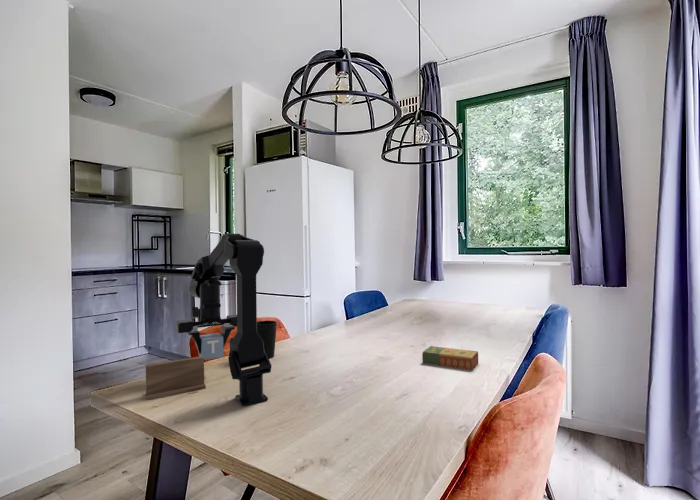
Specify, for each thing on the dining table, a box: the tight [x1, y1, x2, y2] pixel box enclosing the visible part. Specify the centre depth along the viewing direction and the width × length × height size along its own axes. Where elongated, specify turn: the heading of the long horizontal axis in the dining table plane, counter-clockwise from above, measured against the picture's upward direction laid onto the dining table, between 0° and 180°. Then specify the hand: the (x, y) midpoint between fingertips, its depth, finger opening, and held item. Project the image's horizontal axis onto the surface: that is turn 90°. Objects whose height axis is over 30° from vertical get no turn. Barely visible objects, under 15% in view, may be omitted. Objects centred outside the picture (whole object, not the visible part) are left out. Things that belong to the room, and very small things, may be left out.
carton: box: [421, 345, 479, 371], centre depth 122 cm, size 8×16×4 cm, turn 59°
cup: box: [257, 320, 278, 360], centre depth 132 cm, size 8×8×12 cm
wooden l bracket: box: [145, 355, 207, 401], centre depth 101 cm, size 5×14×8 cm, turn 122°
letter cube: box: [198, 332, 225, 361], centre depth 114 cm, size 6×6×6 cm
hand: (210, 351), depth 114 cm, fingers closed on letter cube, 6 cm apart
